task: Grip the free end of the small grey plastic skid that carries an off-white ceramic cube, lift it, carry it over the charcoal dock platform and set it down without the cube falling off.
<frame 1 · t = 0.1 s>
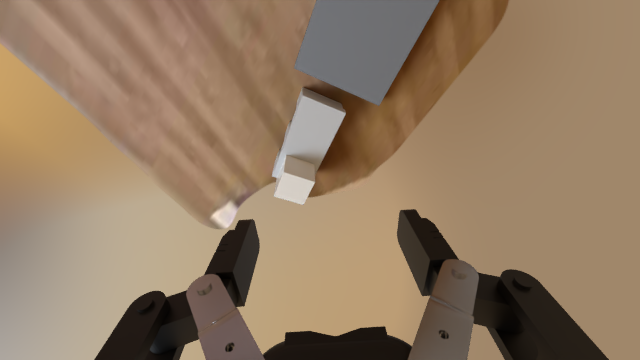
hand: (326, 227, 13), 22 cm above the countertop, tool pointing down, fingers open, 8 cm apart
dock: (359, 30, 27), on the countertop
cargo: (295, 171, 33), point 4 cm above the countertop, touching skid
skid: (306, 133, 34), on the countertop, touching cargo
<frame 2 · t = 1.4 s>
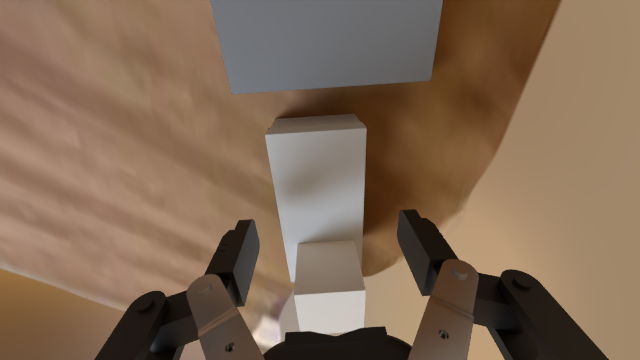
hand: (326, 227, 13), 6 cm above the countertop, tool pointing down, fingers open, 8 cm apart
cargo: (327, 261, 18), point 4 cm above the countertop, touching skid
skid: (319, 188, 19), on the countertop, touching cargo
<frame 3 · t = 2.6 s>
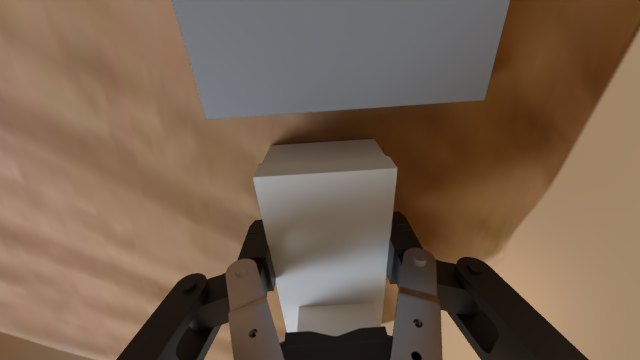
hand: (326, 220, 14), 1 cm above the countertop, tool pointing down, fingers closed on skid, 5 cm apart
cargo: (336, 326, 14), point 4 cm above the countertop, touching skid
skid: (327, 227, 16), on the countertop, touching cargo, gripper
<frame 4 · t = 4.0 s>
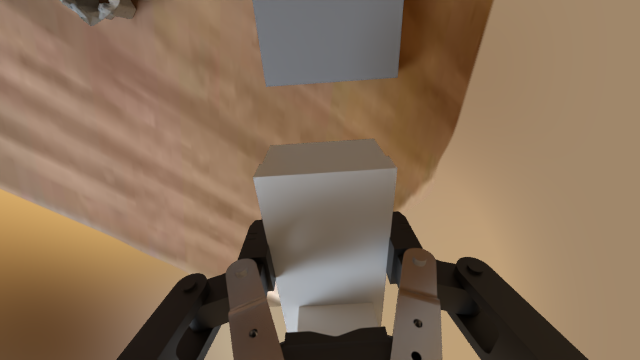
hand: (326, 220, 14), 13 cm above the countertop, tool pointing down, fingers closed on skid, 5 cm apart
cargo: (336, 326, 14), point 16 cm above the countertop, touching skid
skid: (327, 227, 16), point 12 cm above the countertop, touching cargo, gripper
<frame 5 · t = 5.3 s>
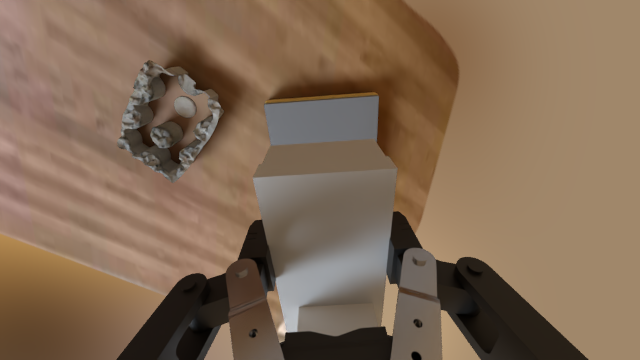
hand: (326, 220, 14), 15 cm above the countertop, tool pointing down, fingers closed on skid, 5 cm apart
egg carton: (182, 119, 27), on the countertop
dock: (324, 149, 28), on the countertop
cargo: (336, 326, 14), point 18 cm above the countertop, touching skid
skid: (327, 227, 16), point 14 cm above the countertop, touching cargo, gripper
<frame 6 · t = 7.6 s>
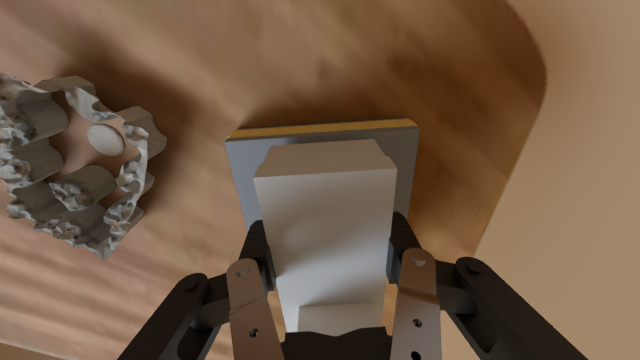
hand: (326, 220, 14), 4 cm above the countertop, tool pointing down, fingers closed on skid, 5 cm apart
egg carton: (110, 159, 17), on the countertop
dock: (325, 200, 19), on the countertop
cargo: (336, 326, 14), point 7 cm above the countertop, touching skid
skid: (327, 227, 16), point 3 cm above the countertop, touching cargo, gripper
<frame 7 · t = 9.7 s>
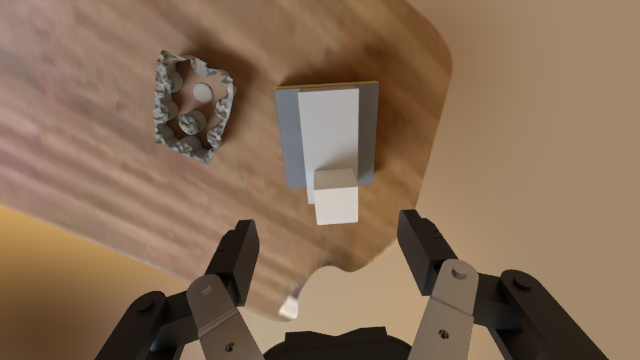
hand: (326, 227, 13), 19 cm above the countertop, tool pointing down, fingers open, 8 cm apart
egg carton: (203, 106, 29), on the countertop
dock: (327, 135, 30), on the countertop
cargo: (333, 185, 26), point 6 cm above the countertop, touching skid
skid: (328, 140, 28), point 2 cm above the countertop, touching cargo, dock
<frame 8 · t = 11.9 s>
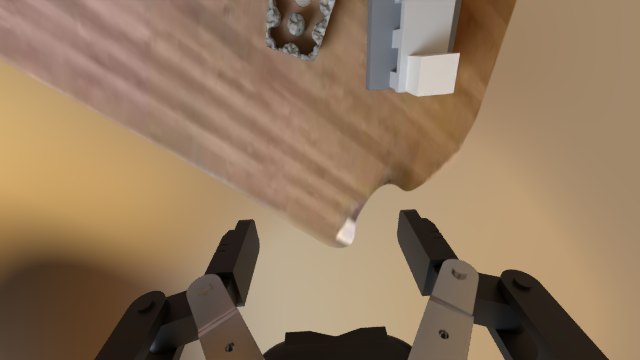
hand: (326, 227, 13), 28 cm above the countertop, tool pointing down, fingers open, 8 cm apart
egg carton: (301, 12, 32), on the countertop
dock: (406, 40, 34), on the countertop
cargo: (423, 72, 30), point 6 cm above the countertop, touching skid
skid: (413, 37, 31), point 2 cm above the countertop, touching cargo, dock
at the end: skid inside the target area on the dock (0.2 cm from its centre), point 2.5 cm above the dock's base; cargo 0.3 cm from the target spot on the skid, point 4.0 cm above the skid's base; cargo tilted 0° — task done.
